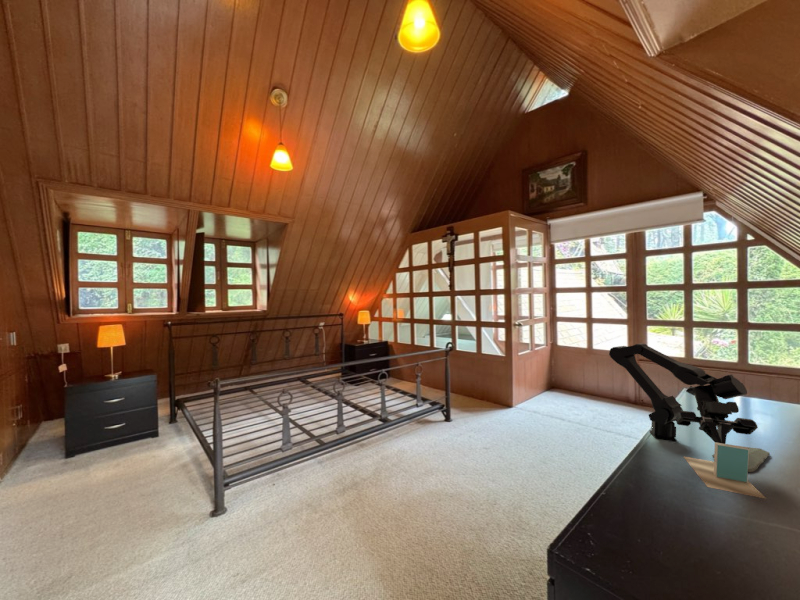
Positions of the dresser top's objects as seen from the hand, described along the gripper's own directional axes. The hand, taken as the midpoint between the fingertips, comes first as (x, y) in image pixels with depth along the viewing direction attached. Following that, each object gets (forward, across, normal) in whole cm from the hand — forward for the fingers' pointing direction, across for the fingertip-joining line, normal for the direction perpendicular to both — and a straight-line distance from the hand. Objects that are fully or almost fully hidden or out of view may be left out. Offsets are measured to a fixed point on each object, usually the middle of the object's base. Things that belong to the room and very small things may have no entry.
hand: (722, 448), depth 100 cm
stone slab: (-4, +10, +14) cm, 17 cm away
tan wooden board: (+8, -2, +2) cm, 9 cm away
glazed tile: (+8, 0, +1) cm, 9 cm away
